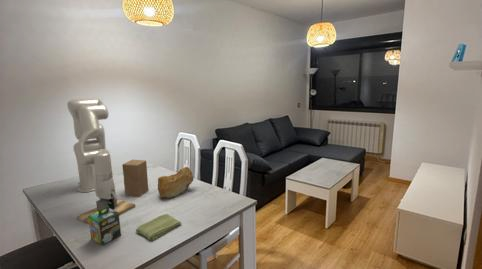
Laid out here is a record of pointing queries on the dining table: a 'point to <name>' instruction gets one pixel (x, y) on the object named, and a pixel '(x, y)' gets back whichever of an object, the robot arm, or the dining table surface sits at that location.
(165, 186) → the rough brown rock
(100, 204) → the block
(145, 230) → the washcloth
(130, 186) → the wooden block
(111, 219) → the chalk box
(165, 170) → the dining table surface
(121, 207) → the board
